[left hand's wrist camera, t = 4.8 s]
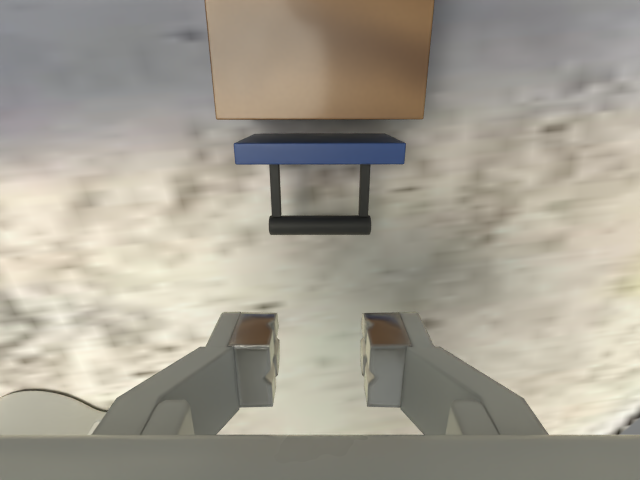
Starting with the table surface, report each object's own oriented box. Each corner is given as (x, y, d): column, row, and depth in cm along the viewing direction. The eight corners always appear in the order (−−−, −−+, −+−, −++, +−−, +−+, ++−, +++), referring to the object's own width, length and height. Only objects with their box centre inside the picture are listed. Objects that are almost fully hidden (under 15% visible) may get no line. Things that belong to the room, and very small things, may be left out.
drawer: (380, 218, 29) (397, 250, 23) (259, 218, 29) (242, 250, 23) (400, -119, 22) (434, -211, 15) (238, -118, 22) (203, -210, 15)
